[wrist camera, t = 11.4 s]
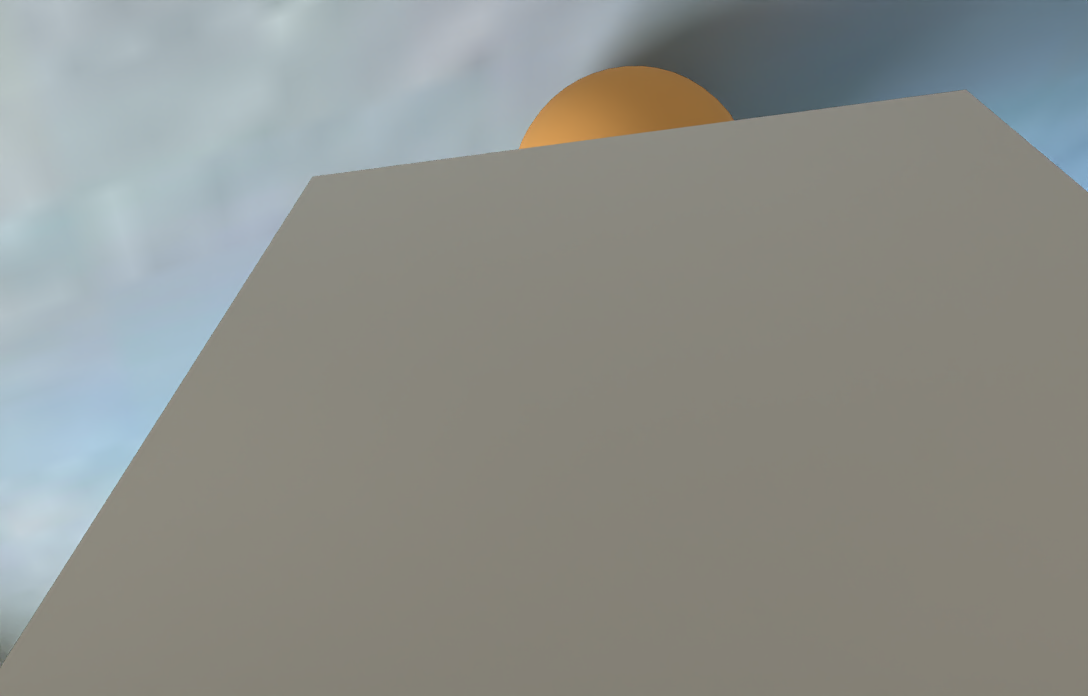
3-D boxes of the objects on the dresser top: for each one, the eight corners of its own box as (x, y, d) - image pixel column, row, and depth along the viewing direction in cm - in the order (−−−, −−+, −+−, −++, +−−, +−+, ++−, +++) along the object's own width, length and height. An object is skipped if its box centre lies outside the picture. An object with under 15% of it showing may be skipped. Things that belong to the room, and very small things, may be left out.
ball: (715, 36, 12) (683, 7, 16) (448, 173, 13) (484, 113, 18) (814, 292, 14) (762, 206, 19) (573, 389, 15) (577, 287, 20)
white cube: (884, 529, 13) (1158, 1210, 7) (452, 559, 14) (354, 1183, 8) (965, 90, 9) (1999, 956, 2) (312, 176, 9) (-189, 964, 3)
